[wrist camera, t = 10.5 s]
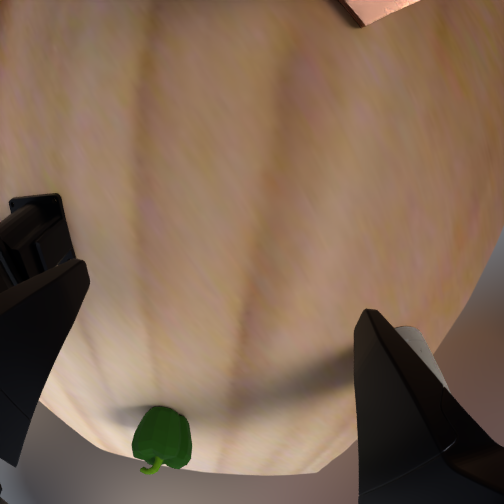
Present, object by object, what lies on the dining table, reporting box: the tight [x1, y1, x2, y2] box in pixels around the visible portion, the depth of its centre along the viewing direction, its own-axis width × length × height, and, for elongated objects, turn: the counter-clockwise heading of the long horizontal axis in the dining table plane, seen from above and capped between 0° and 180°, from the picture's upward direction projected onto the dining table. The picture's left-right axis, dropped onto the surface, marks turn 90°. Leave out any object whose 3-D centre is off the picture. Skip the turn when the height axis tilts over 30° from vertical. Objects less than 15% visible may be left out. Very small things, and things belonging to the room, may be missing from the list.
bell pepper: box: [132, 407, 192, 474], centre depth 31 cm, size 8×8×10 cm
